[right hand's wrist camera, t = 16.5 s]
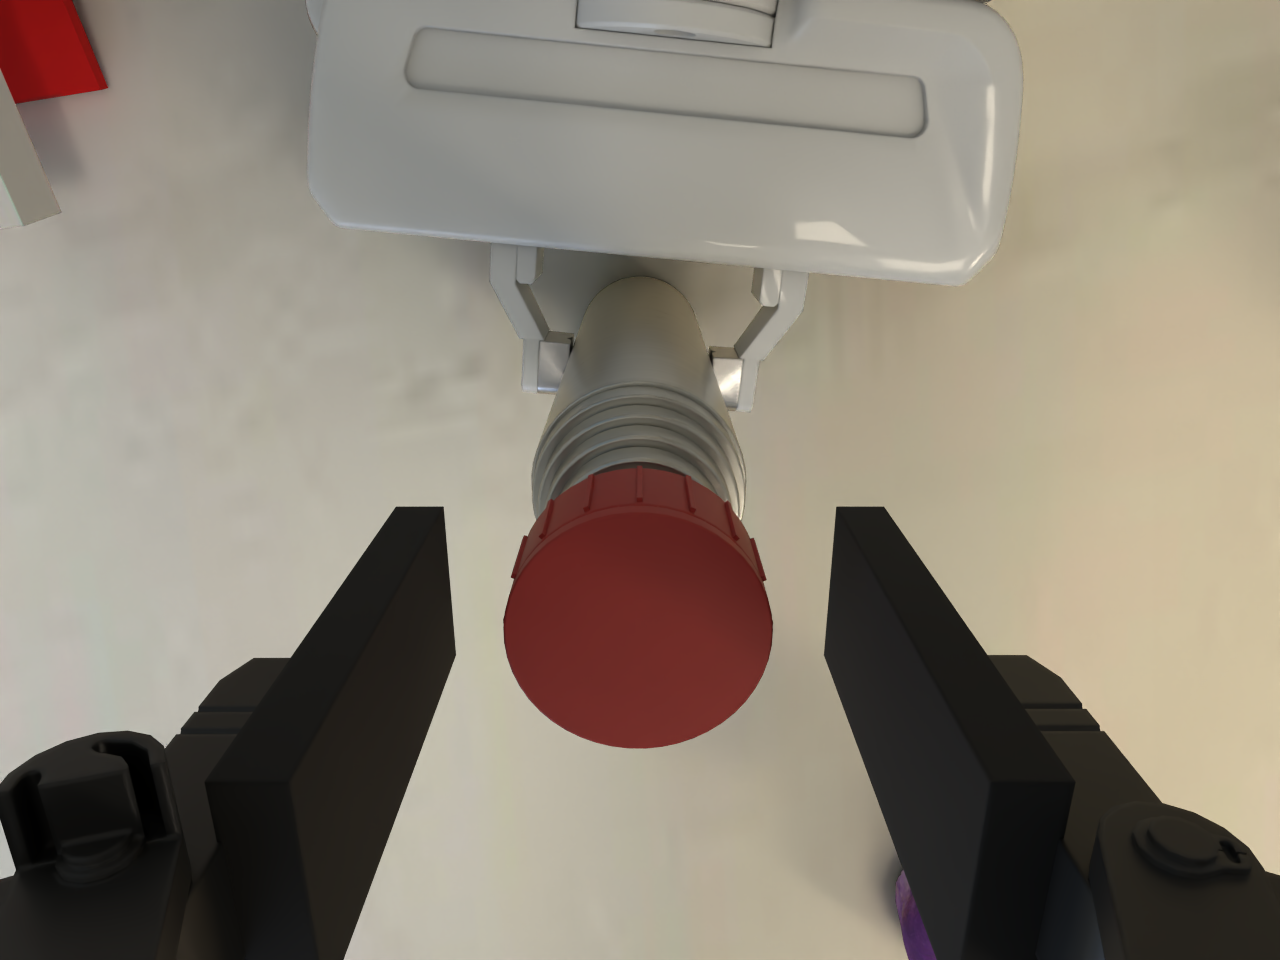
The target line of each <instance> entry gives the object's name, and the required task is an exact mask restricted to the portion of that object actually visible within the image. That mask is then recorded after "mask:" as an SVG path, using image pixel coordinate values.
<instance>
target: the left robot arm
mask: <svg viewBox="0 0 1280 960" xmlns="http://www.w3.org/2000/svg"><path fill="white" fill-rule="evenodd" d="M989 1H991V0H305V3H306V8H307V13H308V17H309V20H310V23H311V25H312V27H313V29H314V31H315V33H316V35H317V41H316V48H315V56H314V64H313V72H312V82H311V92H310V104H309V120H308V140H307V180H308V187H309V191H310V193H311V195H312V197H313V198H314V199H315V201H316V202H317V203H318V205H319V206H320V208H321V209H322V210H323V212H324V213H325V214H326V216H327V217H328V218H329V219H330V221H331V222H332V223H333V224H334V225H336V226H337V227H339V228H344V229H353V230H364V231H374V232H385V233H395V234H406V235H417V236H427V237H438V238H448V239H459V240H469V241H480V242H491V250H490V283H491V285H492V287H493V289H494V291H495V293H496V294H497V296H498V298H499V300H500V302H501V304H502V306H503V308H504V310H505V312H506V314H507V315H508V317H509V319H510V321H511V323H512V325H513V327H514V329H515V331H516V333H517V335H518V337H519V338H520V339H524V341H523V364H522V391H523V392H529V393H536V394H537V393H542V394H555V395H556V394H557V391H558V388H559V385H560V383H561V380H562V377H563V374H564V371H565V368H566V366H567V363H568V360H569V357H570V354H571V352H572V349H573V340H574V334H573V333H565V332H556V331H549V330H550V329H549V327H548V325H547V323H546V321H545V319H544V317H543V314H542V312H541V310H540V308H539V306H538V304H537V302H536V300H535V298H534V295H533V293H532V291H531V289H530V287H529V285H528V284H532V283H533V282H534V281H535V280H536V279H537V278H538V277H539V276H540V275H541V274H542V271H543V255H544V248H554V249H564V250H575V251H586V252H596V253H607V254H617V255H628V256H638V257H649V258H659V259H670V260H681V261H691V262H702V263H712V264H723V265H733V266H744V267H754V274H753V282H752V291H751V292H752V294H753V295H754V296H755V298H756V299H757V300H758V301H759V302H760V303H761V305H762V306H763V307H762V308H761V309H760V311H759V312H758V313H757V315H756V316H755V318H754V319H753V320H752V322H751V323H750V324H749V326H748V327H747V329H746V330H745V331H744V333H743V334H742V335H741V337H740V338H739V340H738V341H737V342H736V344H735V345H734V348H731V347H716V346H709V354H708V355H709V358H710V361H711V364H712V367H713V370H714V373H715V376H716V379H717V382H718V385H719V387H720V390H721V393H722V396H723V399H724V402H725V405H726V408H727V410H729V411H740V412H751V410H752V407H753V403H754V396H755V389H756V382H757V375H758V368H759V361H764V360H765V358H766V357H767V356H768V355H769V353H770V352H771V351H772V350H773V348H774V347H775V346H776V344H777V343H778V342H779V341H780V339H781V338H782V337H783V336H784V334H785V333H786V332H787V331H788V329H789V328H790V327H791V326H792V324H793V323H794V322H795V320H796V319H797V318H798V317H799V315H800V314H801V313H802V312H803V308H804V302H805V296H806V290H807V283H808V277H809V273H818V274H828V275H839V276H849V277H860V278H871V279H881V280H892V281H902V282H913V283H923V284H934V285H945V286H956V287H957V286H962V285H964V284H966V283H967V282H969V281H970V280H971V279H972V278H973V277H974V276H975V275H977V274H978V273H979V272H980V271H981V270H982V269H983V268H984V267H985V266H986V265H987V264H988V263H989V262H990V261H991V260H992V259H993V257H994V256H995V254H996V252H997V250H998V247H999V245H1000V241H1001V238H1002V234H1003V230H1004V226H1005V221H1006V216H1007V212H1008V207H1009V201H1010V196H1011V190H1012V185H1013V178H1014V172H1015V165H1016V158H1017V150H1018V142H1019V134H1020V123H1021V112H1022V100H1023V64H1022V56H1021V52H1020V48H1019V44H1018V41H1017V39H1016V36H1015V34H1014V32H1013V30H1012V29H1011V27H1010V25H1009V24H1008V23H1007V21H1006V20H1005V19H1004V18H1003V17H1002V16H1001V15H1000V14H999V13H998V12H997V11H995V10H994V9H992V8H991V7H989V6H987V5H985V4H986V3H988V2H989Z"/></svg>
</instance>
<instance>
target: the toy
mask: <svg viewBox="0 0 1280 960" xmlns="http://www.w3.org/2000/svg"><path fill="white" fill-rule="evenodd" d="M106 88H108V86H107V84H106V81H105V79H104V77H103V74H102V72H101V69H100V67H99V65H98V62H97V60H96V57H95V55H94V53H93V50H92V48H91V45H90V43H89V40H88V38H87V36H86V33H85V31H84V28H83V26H82V24H81V21H80V19H79V16H78V14H77V12H76V9H75V7H74V4H73V2H72V0H0V229H5V228H12V227H20V226H25V225H28V224H31V223H33V222H36V221H39V220H42V219H44V218H47V217H50V216H53V215H55V214H58V213H61V210H60V207H59V205H58V203H57V200H56V198H55V196H54V193H53V191H52V189H51V186H50V184H49V182H48V179H47V177H46V175H45V172H44V170H43V168H42V165H41V163H40V161H39V158H38V156H37V154H36V151H35V149H34V147H33V144H32V142H31V140H30V137H29V135H28V132H27V130H26V128H25V125H24V123H23V121H22V118H21V116H20V114H19V111H18V109H17V107H16V104H17V103H23V102H30V101H36V100H42V99H48V98H54V97H60V96H66V95H72V94H78V93H84V92H91V91H97V90H102V89H106Z"/></svg>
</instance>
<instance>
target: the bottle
mask: <svg viewBox="0 0 1280 960" xmlns="http://www.w3.org/2000/svg"><path fill="white" fill-rule="evenodd" d="M637 466H642V468H648V469H656V470H663V471H667V472H671V473H675V474H679V475H681V476H684V477H685V476H686V475H689V476H691V479H692V480H694V481H696V482H697V483H699V484H701V485H703V486H705V487H706V488H708V489H709V490H711V491H712V492H713V493H715V494H716V495H717V496H719V497H720V498H721V499H722V500H723V501H724V502H726V501H727V500H728V501H729V502H730V503H731V507H732V510H733V511H734V513H735V514H736V515H737V516H738V518H739V519H740V520H742V517H743V512H744V507H745V495H746V469H745V464H744V459H743V455H742V452H741V449H740V446H739V443H738V440H737V437H736V434H735V431H734V428H733V425H732V422H731V420H730V417H729V414H728V411H727V408H726V405H725V402H724V399H723V396H722V393H721V390H720V387H719V385H718V382H717V379H716V376H715V373H714V370H713V367H712V364H711V361H710V358H709V355H708V352H707V349H706V347H705V344H704V341H703V338H702V335H701V332H700V329H699V326H698V323H697V320H696V317H695V315H694V312H693V310H692V308H691V306H690V304H689V303H688V301H687V300H686V298H685V297H684V296H683V295H682V294H681V293H680V292H679V291H678V290H676V289H675V288H674V287H672V286H671V285H669V284H668V283H666V282H663V281H661V280H658V279H655V278H651V277H641V276H636V277H628V278H624V279H621V280H618V281H616V282H614V283H612V284H610V285H608V286H607V287H605V288H604V289H603V290H601V291H600V292H599V293H598V294H597V295H596V296H595V298H594V299H593V300H592V301H591V303H590V305H589V306H588V308H587V310H586V313H585V315H584V318H583V320H582V323H581V326H580V329H579V332H578V335H577V337H576V340H575V343H574V346H573V349H572V352H571V354H570V357H569V360H568V363H567V366H566V368H565V371H564V374H563V377H562V380H561V383H560V385H559V388H558V391H557V394H556V397H555V400H554V402H553V405H552V408H551V411H550V414H549V416H548V419H547V422H546V425H545V428H544V431H543V433H542V436H541V439H540V442H539V445H538V448H537V451H536V454H535V458H534V462H533V469H532V502H533V508H534V514H535V518H536V520H537V519H538V517H539V516H540V515H541V513H542V512H543V511H544V510H545V509H546V507H547V503H548V501H549V500H550V499H553V500H555V499H556V498H557V497H558V496H559V495H560V494H562V493H563V492H565V491H566V490H567V489H569V488H570V487H572V486H574V485H576V484H577V483H579V482H581V481H583V480H585V479H588V475H590V474H593V475H594V476H596V475H598V474H601V473H606V472H610V471H614V470H621V469H630V468H637Z"/></svg>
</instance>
